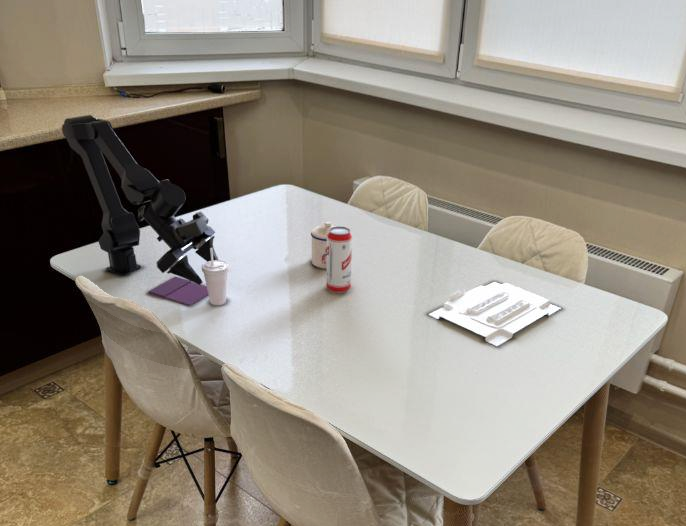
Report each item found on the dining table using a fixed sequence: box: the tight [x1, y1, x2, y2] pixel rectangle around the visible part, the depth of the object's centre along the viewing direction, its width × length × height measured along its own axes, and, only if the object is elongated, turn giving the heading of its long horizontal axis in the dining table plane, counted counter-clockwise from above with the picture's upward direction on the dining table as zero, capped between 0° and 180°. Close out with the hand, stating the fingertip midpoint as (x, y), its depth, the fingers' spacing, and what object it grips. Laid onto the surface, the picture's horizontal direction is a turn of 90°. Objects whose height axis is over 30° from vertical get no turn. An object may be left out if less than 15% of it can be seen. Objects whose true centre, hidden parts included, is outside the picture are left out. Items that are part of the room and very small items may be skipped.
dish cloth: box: [148, 276, 209, 306], centre depth 173 cm, size 13×10×1 cm
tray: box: [428, 281, 562, 347], centre depth 170 cm, size 20×28×4 cm
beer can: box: [325, 225, 353, 294], centre depth 174 cm, size 6×6×16 cm
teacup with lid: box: [310, 221, 336, 270], centre depth 189 cm, size 12×9×12 cm
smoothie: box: [201, 248, 230, 306], centre depth 166 cm, size 6×6×14 cm
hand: (210, 275), depth 166 cm, fingers open, 9 cm apart
